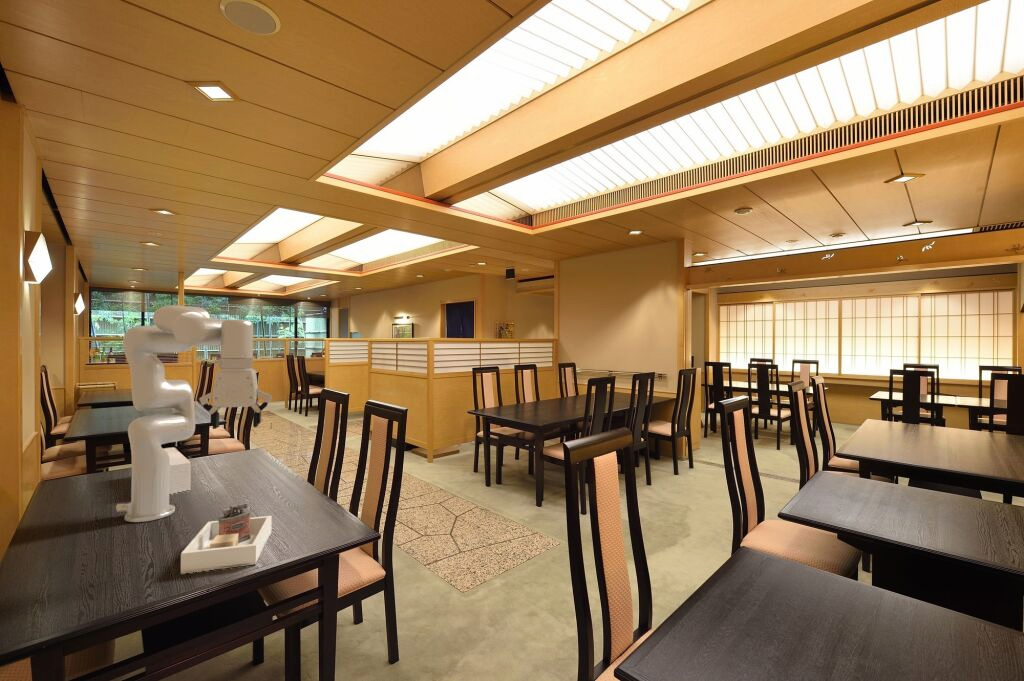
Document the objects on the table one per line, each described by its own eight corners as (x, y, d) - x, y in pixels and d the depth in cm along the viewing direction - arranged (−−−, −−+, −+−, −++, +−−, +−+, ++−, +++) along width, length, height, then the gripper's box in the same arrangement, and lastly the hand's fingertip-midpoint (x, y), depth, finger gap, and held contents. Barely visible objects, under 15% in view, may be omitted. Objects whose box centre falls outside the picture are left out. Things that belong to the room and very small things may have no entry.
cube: (209, 564, 113) (209, 543, 113) (216, 554, 118) (216, 535, 118) (232, 561, 115) (232, 541, 115) (238, 552, 119) (238, 533, 119)
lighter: (221, 549, 121) (221, 511, 121) (215, 545, 123) (216, 508, 123) (252, 538, 128) (253, 502, 128) (247, 535, 130) (247, 500, 130)
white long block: (141, 478, 184) (141, 451, 184) (173, 472, 191) (174, 447, 191) (154, 498, 161) (154, 467, 161) (190, 491, 169) (190, 462, 169)
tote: (180, 574, 110) (180, 553, 110) (208, 539, 129) (208, 521, 129) (255, 565, 114) (255, 545, 114) (271, 532, 133) (271, 515, 133)
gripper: (195, 365, 119) (194, 431, 119) (269, 365, 124) (268, 428, 124) (205, 364, 126) (204, 426, 126) (274, 363, 131) (273, 423, 131)
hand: (236, 427), depth 125 cm, fingers open, 9 cm apart
